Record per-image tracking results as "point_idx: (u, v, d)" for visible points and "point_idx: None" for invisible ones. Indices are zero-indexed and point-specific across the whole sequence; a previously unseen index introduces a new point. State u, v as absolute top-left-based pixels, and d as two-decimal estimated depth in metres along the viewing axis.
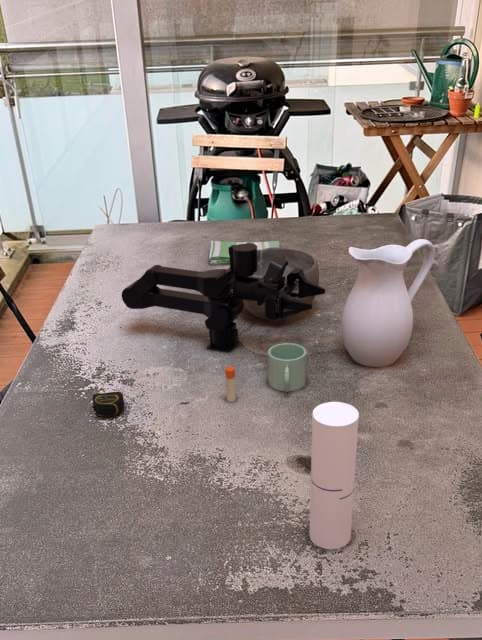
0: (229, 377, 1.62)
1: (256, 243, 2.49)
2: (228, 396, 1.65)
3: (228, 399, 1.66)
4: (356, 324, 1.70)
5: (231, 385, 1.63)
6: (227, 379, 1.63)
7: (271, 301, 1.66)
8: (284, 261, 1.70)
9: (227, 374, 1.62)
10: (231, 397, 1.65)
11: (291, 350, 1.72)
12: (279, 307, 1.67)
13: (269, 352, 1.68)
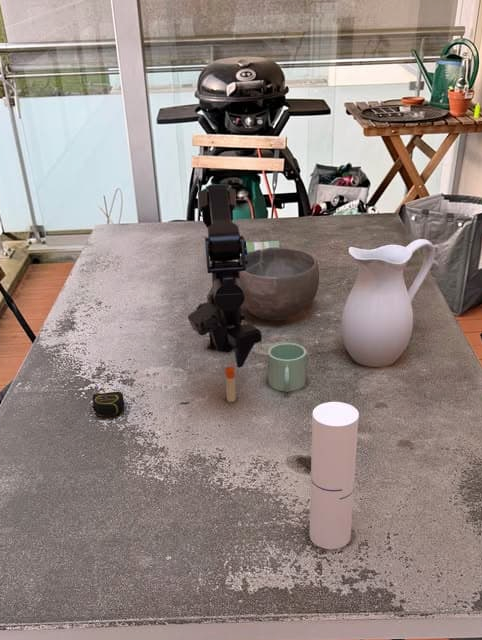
0: (229, 377, 1.62)
1: (256, 243, 2.49)
2: (228, 396, 1.65)
3: (228, 399, 1.66)
4: (356, 324, 1.70)
5: (231, 385, 1.63)
6: (227, 379, 1.63)
7: None
8: (196, 331, 1.52)
9: (227, 374, 1.62)
10: (231, 397, 1.65)
11: (291, 350, 1.72)
12: None
13: (269, 352, 1.68)
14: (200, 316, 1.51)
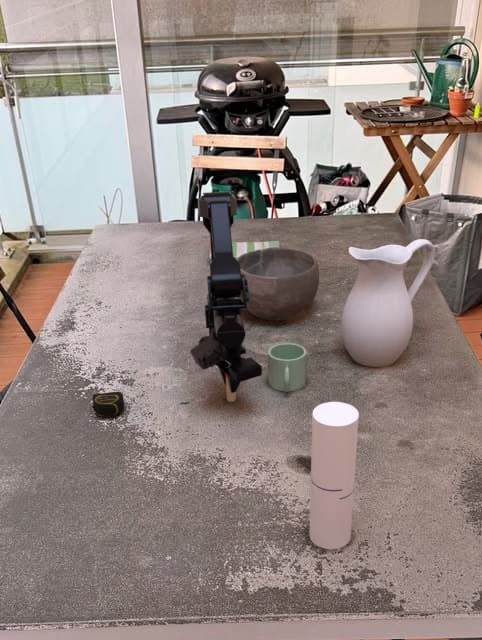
0: None
1: (256, 243, 2.49)
2: (228, 396, 1.65)
3: (228, 399, 1.66)
4: (356, 324, 1.70)
5: None
6: (227, 379, 1.63)
7: None
8: (199, 365, 1.57)
9: None
10: (231, 397, 1.65)
11: (291, 350, 1.72)
12: None
13: (269, 352, 1.68)
14: (202, 351, 1.55)
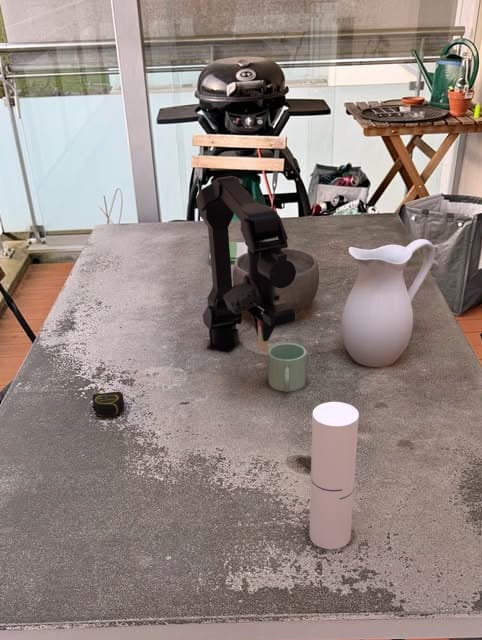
0: None
1: None
2: (260, 345, 1.63)
3: (260, 348, 1.63)
4: (356, 324, 1.70)
5: None
6: (259, 327, 1.60)
7: None
8: (232, 310, 1.54)
9: (259, 322, 1.59)
10: (263, 346, 1.63)
11: (291, 350, 1.72)
12: None
13: (269, 352, 1.68)
14: (236, 295, 1.53)
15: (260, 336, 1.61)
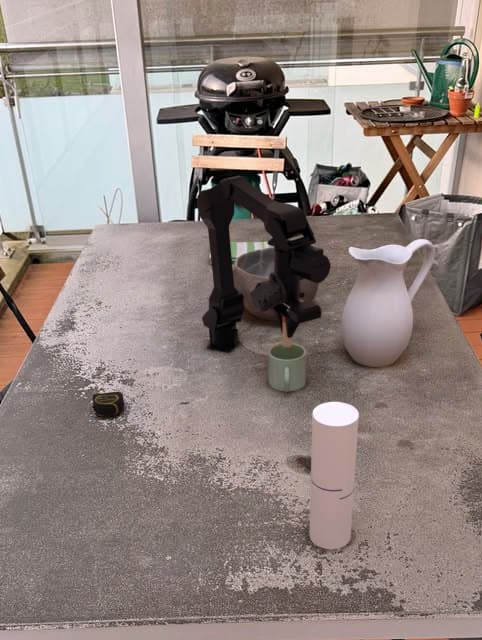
0: None
1: (256, 243, 2.49)
2: (284, 341, 1.66)
3: (284, 344, 1.66)
4: (356, 324, 1.70)
5: None
6: (284, 324, 1.63)
7: None
8: (258, 307, 1.57)
9: (284, 318, 1.62)
10: (287, 343, 1.66)
11: (291, 350, 1.72)
12: None
13: (269, 352, 1.68)
14: (262, 293, 1.56)
15: (285, 333, 1.64)
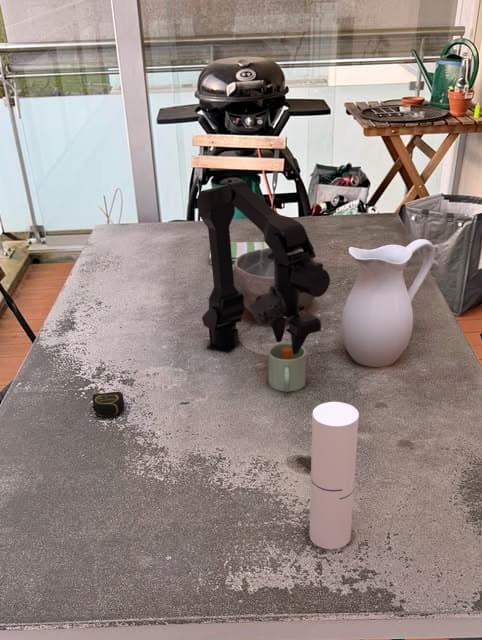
0: (286, 357, 1.68)
1: (256, 243, 2.49)
2: None
3: None
4: (356, 324, 1.70)
5: None
6: (284, 359, 1.68)
7: None
8: (258, 320, 1.59)
9: (284, 354, 1.68)
10: None
11: None
12: None
13: (269, 352, 1.68)
14: (262, 306, 1.58)
15: None
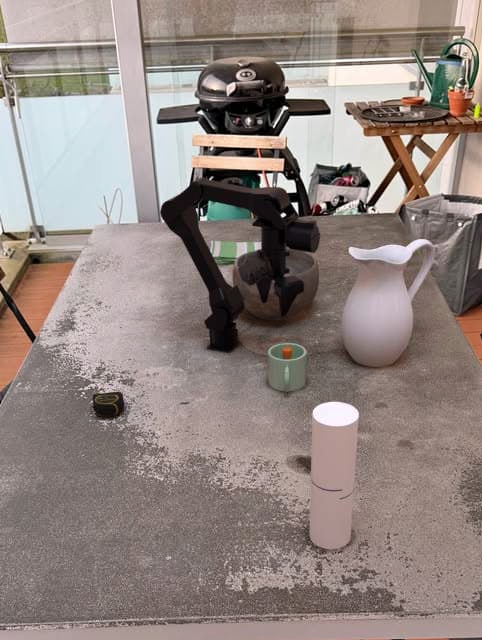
0: (286, 357, 1.68)
1: (256, 243, 2.49)
2: None
3: None
4: (356, 324, 1.70)
5: None
6: (284, 359, 1.68)
7: None
8: (245, 281, 1.68)
9: (284, 354, 1.68)
10: None
11: None
12: None
13: (269, 352, 1.68)
14: (249, 268, 1.67)
15: None
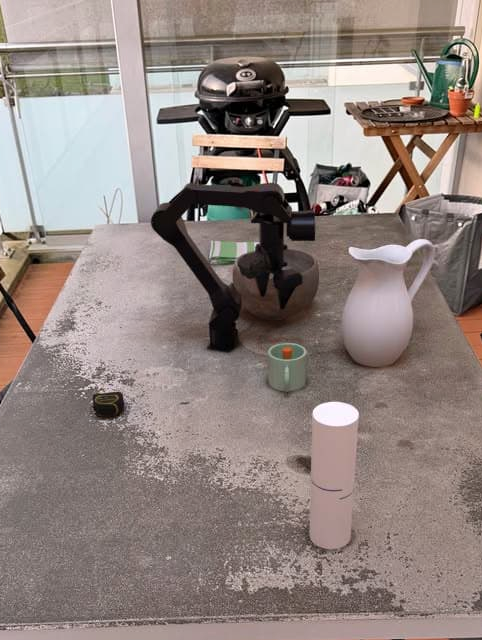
0: (286, 357, 1.68)
1: (256, 243, 2.49)
2: None
3: None
4: (356, 324, 1.70)
5: None
6: (284, 359, 1.68)
7: None
8: (245, 275, 1.73)
9: (284, 354, 1.68)
10: None
11: None
12: None
13: (269, 352, 1.68)
14: (248, 262, 1.71)
15: None
